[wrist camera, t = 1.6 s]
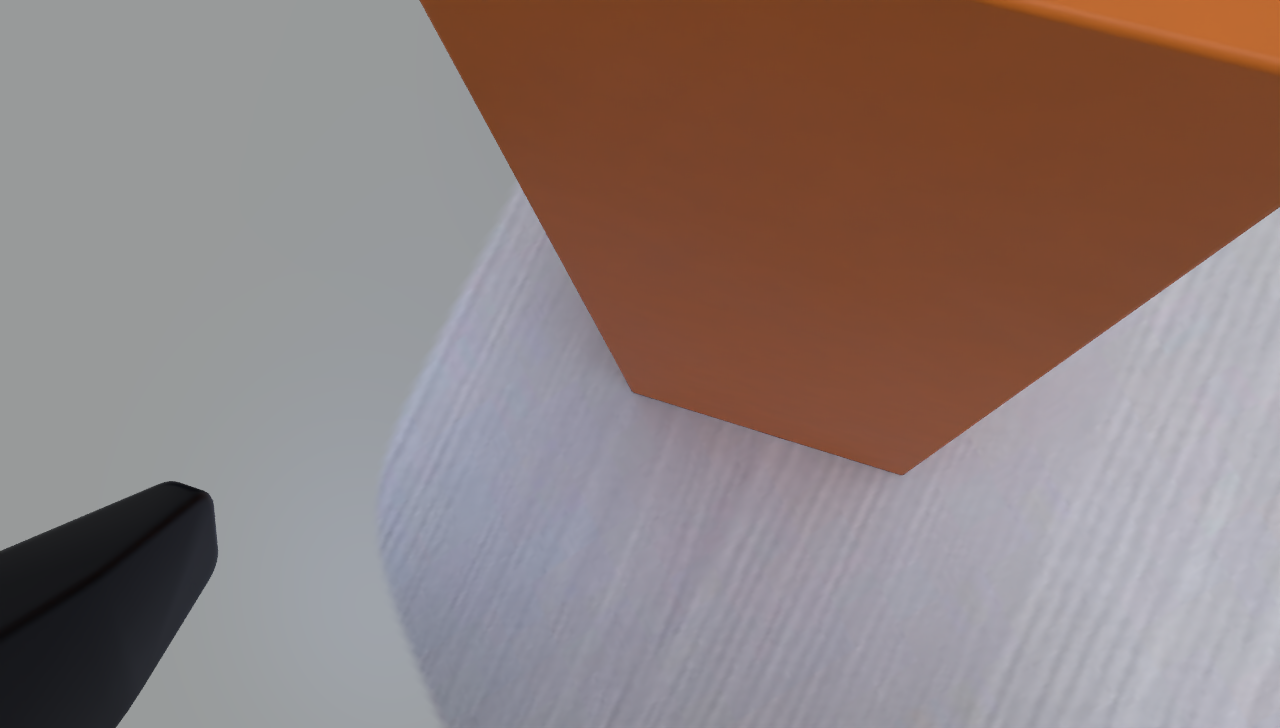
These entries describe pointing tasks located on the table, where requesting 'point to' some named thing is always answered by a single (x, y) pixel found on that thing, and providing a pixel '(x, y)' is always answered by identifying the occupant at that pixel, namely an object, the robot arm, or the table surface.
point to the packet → (873, 187)
